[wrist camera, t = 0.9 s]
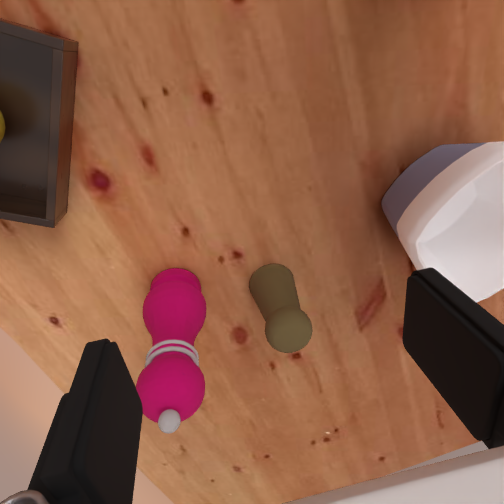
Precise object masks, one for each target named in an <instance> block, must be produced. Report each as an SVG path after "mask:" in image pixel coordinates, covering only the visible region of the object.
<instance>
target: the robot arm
mask: <svg viewBox="0 0 504 504" xmlns="http://www.w3.org/2000/svg"><path fill="white" fill-rule="evenodd" d="M403 344H404V347H405V349H406V351H407V352H408V353H409V354H410V356H411V357H412V358H413V360H414V361H415V362H416V363H417V365H418V366H419V367H420V369H421V370H422V371H423V372H424V374H425V375H426V376H427V378H428V379H429V380H430V381H431V383H432V384H433V385H434V387H435V388H436V389H437V390H438V392H439V393H440V394H441V396H442V397H443V398H444V399H445V401H446V402H447V403H448V405H449V406H450V407H451V408H452V410H453V411H454V412H455V413H456V415H457V416H458V417H459V419H460V420H461V421H462V422H463V424H464V425H465V426H466V428H467V429H468V430H469V431H470V433H471V434H472V435H473V436H474V438H476V439H477V440H479V441H481V440H482V441H483V442H484V443H485V445H486V446H487V447H488V450H484V451H480V452H476V453H472V454H468V455H464V456H460V457H457V458H453V459H449V460H445V461H442V462H437V463H434V464H430V465H426V466H422V467H418V468H415V469H411V470H407V471H403V472H399V473H395V474H392V475H387V476H384V477H380V478H376V479H372V480H369V481H365V482H361V483H357V484H354V485H350V486H346V487H342V488H338V489H335V490H331V491H327V492H324V493H320V494H316V495H312V496H309V497H305V498H301V499H297V500H294V501H290V502H286V503H282V504H504V325H503V324H502V323H501V322H499V321H498V320H497V319H496V318H495V317H493V316H492V315H491V314H490V313H488V312H487V311H486V310H485V309H484V308H482V307H481V306H480V305H479V304H477V303H476V302H475V301H474V300H472V299H471V298H470V297H469V296H468V295H466V294H465V293H464V292H463V291H461V290H460V289H459V288H458V287H456V286H455V285H454V284H453V283H452V282H450V281H449V280H448V279H447V278H445V277H444V276H443V275H442V274H441V273H439V272H438V271H437V270H436V269H434V268H431V267H430V268H426V269H421V270H416V271H414V272H413V273H412V275H411V276H410V277H408V279H407V289H406V302H405V314H404V326H403ZM142 414H143V407H142V402H141V399H140V397H139V394H138V392H137V390H136V387H135V385H134V383H133V380H132V378H131V376H130V373H129V371H128V369H127V366H126V364H125V362H124V359H123V357H122V355H121V352H120V350H119V348H118V345H117V344H116V342H110V341H109V340H108V339H102V340H97V341H93V342H88V343H87V344H86V346H85V348H84V351H83V354H82V357H81V360H80V363H79V366H78V368H77V371H76V374H75V377H74V380H73V383H72V386H71V388H70V391H69V393H66V394H64V395H63V396H62V398H61V400H60V403H59V405H58V408H57V411H56V414H55V416H54V419H53V422H52V424H51V427H50V430H49V432H48V435H47V438H46V441H45V443H44V446H43V449H42V452H41V454H40V457H39V460H38V463H37V465H36V468H35V471H34V473H33V476H32V479H31V481H30V484H29V487H28V490H26V491H20V492H18V493H16V494H14V495H12V496H10V497H8V498H7V499H5V500H4V501H2V502H1V503H0V504H132V499H133V490H134V482H135V473H136V465H137V457H138V448H139V440H140V431H141V423H142Z"/></svg>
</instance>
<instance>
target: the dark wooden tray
mask: <svg viewBox="0 0 504 504" xmlns="http://www.w3.org/2000/svg"><path fill="white" fill-rule="evenodd" d="M77 55H78V42H77V41H74V40H70V39H67V38H64V37H61V36H57V35H54V34H51V33H47V32H44V31H41V30H38V29H34V28H31V27H28V26H25V25H21V24H18V23H15V22H12V21H8V20H5V19H2V18H0V111H1V113H2V115H3V118H4V120H5V133H4V137H3V139H2V140H1V142H0V219H6V220H11V221H17V222H23V223H28V224H34V225H40V226H45V227H51V228H55V226H56V225H57V224H58V222H59V221H60V220H61V219H62V217H63V216H64V215H65V214H66V213H67V206H68V191H69V176H70V160H71V145H72V130H73V115H74V100H75V85H76V70H77Z"/></svg>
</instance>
